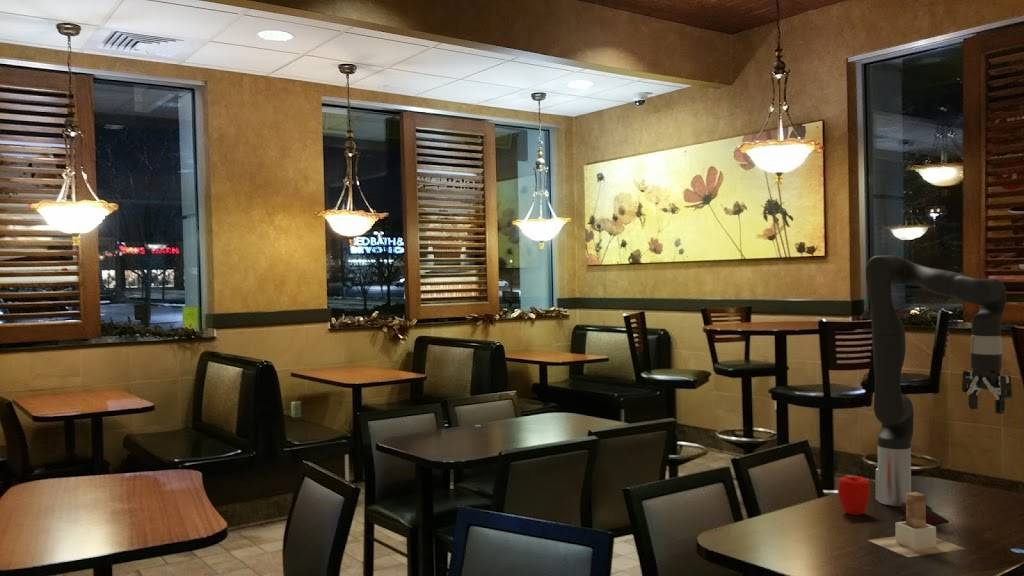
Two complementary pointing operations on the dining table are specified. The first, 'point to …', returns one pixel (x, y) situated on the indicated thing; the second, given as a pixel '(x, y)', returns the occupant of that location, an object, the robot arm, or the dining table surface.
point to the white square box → (915, 536)
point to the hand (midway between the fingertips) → (986, 411)
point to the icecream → (928, 516)
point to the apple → (854, 494)
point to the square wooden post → (915, 510)
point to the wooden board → (909, 552)
